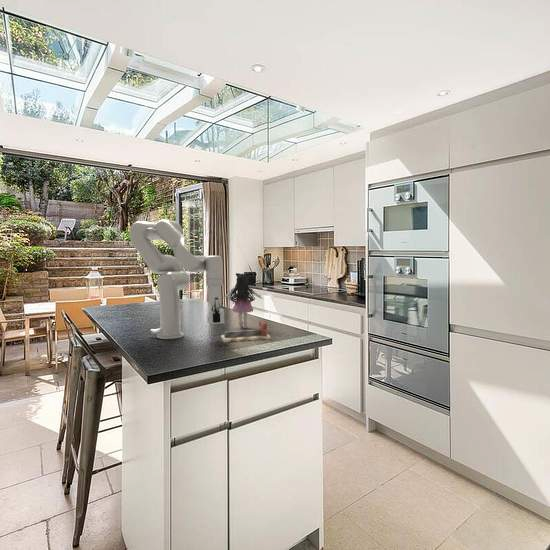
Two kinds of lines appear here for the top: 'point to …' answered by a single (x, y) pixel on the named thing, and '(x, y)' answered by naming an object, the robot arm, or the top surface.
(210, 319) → the lock block
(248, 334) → the board
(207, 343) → the top surface
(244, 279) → the figurine
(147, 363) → the top surface
